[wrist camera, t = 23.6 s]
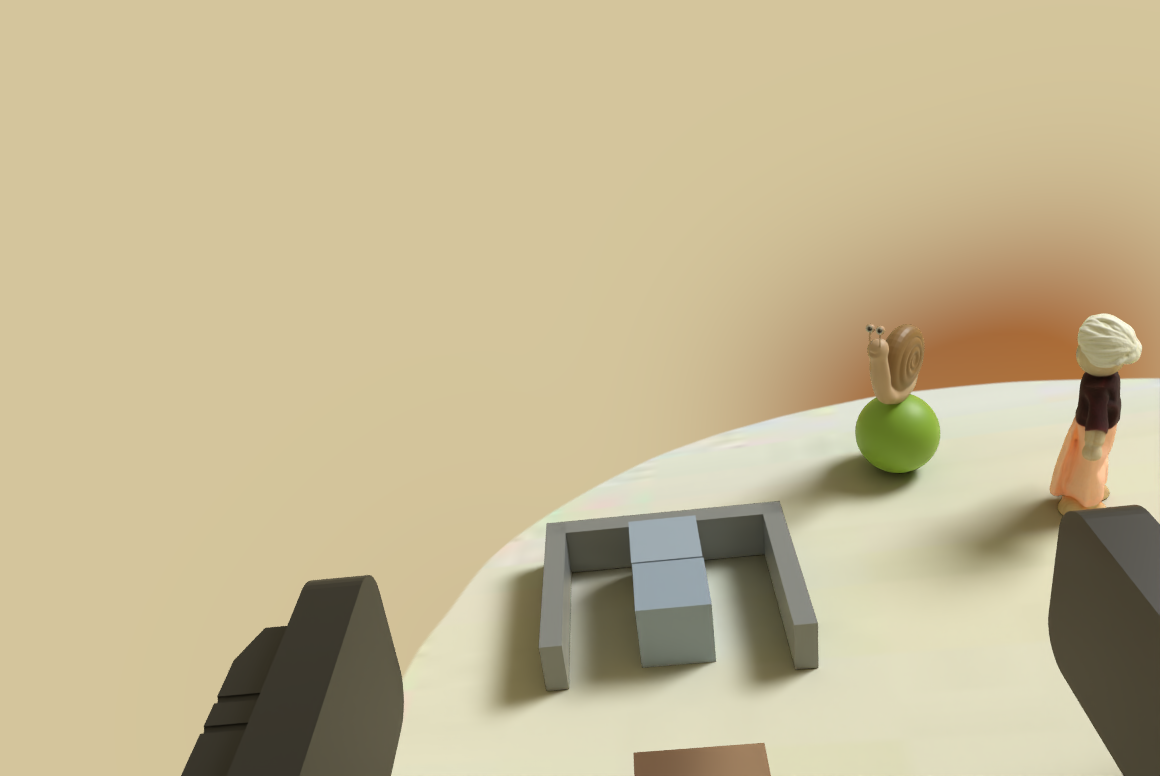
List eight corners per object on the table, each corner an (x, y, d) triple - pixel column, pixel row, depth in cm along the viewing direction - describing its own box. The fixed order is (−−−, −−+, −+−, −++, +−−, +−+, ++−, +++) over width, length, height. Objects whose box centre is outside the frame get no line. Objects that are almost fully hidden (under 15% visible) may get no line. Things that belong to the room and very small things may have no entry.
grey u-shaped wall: (780, 541, 61) (779, 501, 60) (818, 667, 52) (817, 622, 50) (553, 562, 62) (546, 523, 61) (546, 690, 52) (538, 647, 51)
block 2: (708, 613, 56) (703, 557, 55) (715, 662, 53) (711, 604, 51) (638, 619, 57) (632, 564, 55) (642, 668, 53) (635, 610, 51)
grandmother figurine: (1043, 469, 65) (1063, 291, 59) (1109, 474, 64) (1135, 292, 58) (1052, 538, 59) (1075, 346, 53) (1125, 545, 57) (1157, 348, 52)
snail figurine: (833, 480, 67) (832, 318, 61) (878, 439, 71) (881, 283, 65) (909, 504, 63) (916, 335, 58) (951, 459, 67) (961, 297, 62)
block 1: (699, 569, 60) (695, 515, 58) (706, 612, 57) (702, 556, 55) (634, 575, 60) (628, 521, 59) (637, 618, 57) (631, 562, 55)
